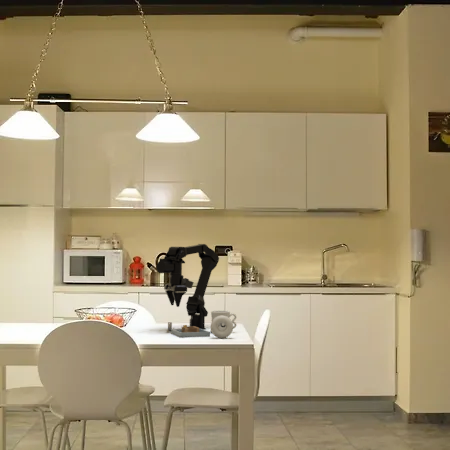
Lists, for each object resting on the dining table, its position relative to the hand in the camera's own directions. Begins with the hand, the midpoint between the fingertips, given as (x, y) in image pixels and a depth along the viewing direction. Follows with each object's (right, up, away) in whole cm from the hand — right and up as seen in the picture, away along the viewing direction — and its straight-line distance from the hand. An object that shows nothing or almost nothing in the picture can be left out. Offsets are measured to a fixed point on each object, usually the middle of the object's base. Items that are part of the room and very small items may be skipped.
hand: (175, 305), depth 316 cm
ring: (+8, -11, -13) cm, 19 cm away
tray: (+8, -12, -13) cm, 19 cm away
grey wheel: (+22, -12, -23) cm, 34 cm away
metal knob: (-2, -12, -3) cm, 13 cm away
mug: (+23, -13, -2) cm, 26 cm away
